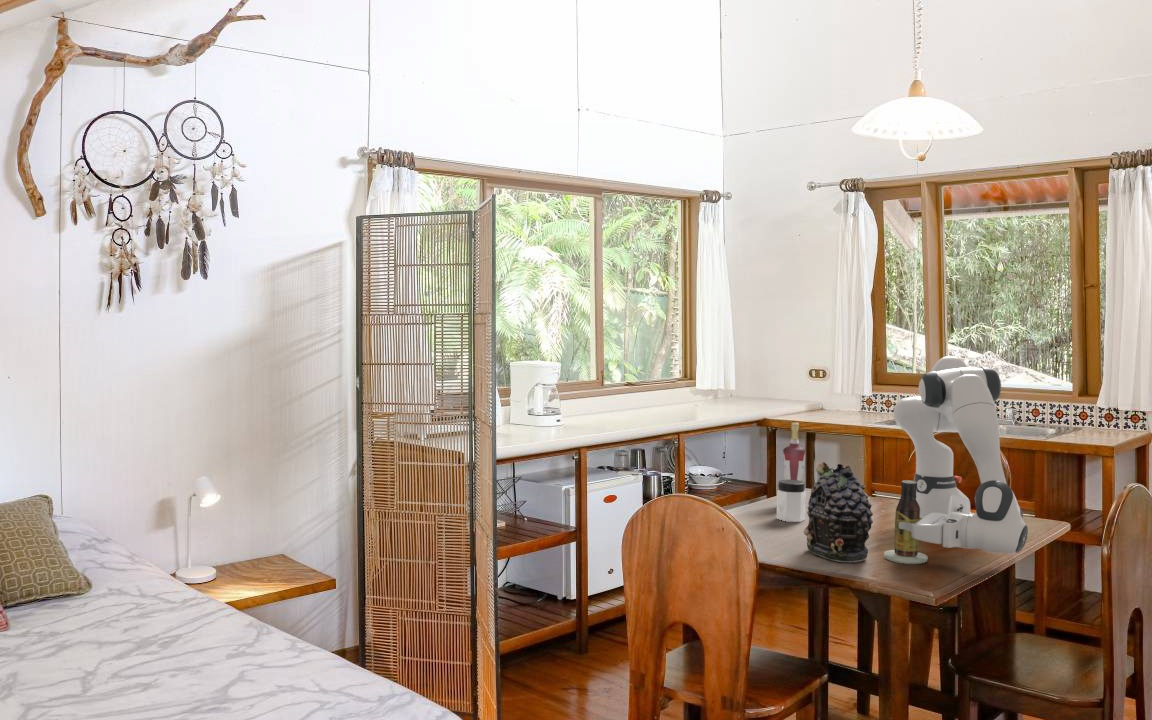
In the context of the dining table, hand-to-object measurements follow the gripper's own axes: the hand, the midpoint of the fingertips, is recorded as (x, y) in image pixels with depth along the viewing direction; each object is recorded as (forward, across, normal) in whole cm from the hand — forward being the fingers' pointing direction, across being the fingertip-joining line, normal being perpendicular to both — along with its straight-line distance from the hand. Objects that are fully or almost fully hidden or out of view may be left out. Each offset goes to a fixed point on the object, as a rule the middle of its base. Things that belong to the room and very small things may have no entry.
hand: (903, 522), depth 256 cm
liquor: (+50, -48, +10) cm, 70 cm away
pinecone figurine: (+15, +8, +10) cm, 20 cm away
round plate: (-1, 0, +10) cm, 10 cm away
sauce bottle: (-1, 0, +9) cm, 9 cm away
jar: (+42, -26, +10) cm, 51 cm away
